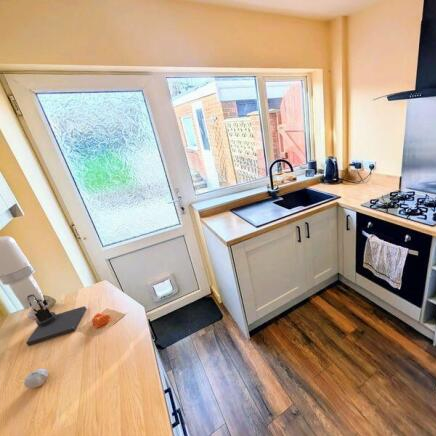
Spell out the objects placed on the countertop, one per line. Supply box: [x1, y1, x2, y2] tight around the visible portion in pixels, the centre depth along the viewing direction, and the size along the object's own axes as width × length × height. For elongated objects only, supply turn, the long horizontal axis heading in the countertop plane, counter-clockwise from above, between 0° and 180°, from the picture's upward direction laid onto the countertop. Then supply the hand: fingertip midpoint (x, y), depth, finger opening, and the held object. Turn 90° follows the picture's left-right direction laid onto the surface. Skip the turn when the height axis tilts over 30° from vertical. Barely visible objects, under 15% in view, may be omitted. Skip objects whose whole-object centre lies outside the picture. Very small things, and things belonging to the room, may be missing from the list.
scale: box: [25, 306, 87, 347], centre depth 100 cm, size 15×14×4 cm
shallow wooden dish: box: [77, 307, 126, 337], centre depth 99 cm, size 12×12×4 cm
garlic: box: [23, 367, 50, 389], centre depth 78 cm, size 6×5×5 cm
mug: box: [26, 294, 57, 320], centre depth 109 cm, size 8×10×10 cm
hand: (44, 312), depth 86 cm, fingers open, 9 cm apart
